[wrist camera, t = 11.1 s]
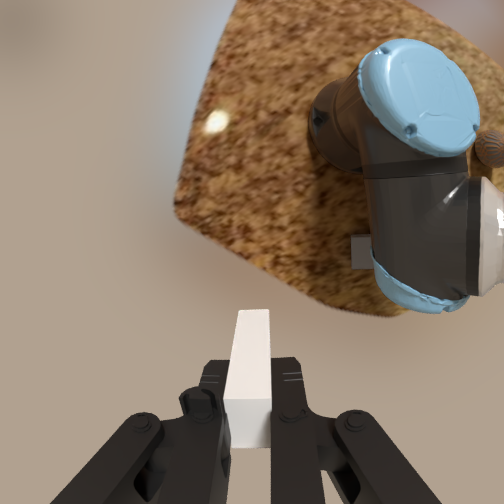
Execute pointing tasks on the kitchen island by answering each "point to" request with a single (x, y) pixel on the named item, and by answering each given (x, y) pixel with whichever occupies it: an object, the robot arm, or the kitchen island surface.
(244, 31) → the kitchen island surface
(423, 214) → the robot arm
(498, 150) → the vase
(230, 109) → the kitchen island surface
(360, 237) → the domino
